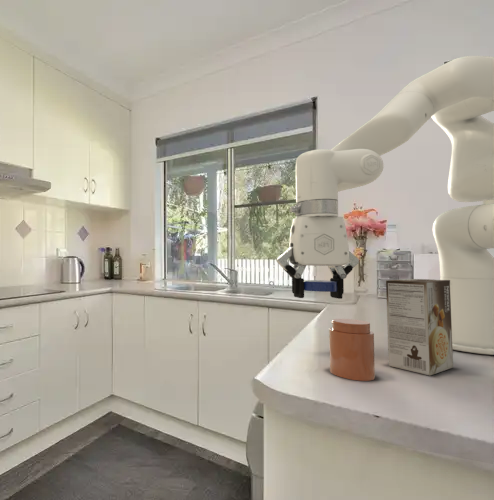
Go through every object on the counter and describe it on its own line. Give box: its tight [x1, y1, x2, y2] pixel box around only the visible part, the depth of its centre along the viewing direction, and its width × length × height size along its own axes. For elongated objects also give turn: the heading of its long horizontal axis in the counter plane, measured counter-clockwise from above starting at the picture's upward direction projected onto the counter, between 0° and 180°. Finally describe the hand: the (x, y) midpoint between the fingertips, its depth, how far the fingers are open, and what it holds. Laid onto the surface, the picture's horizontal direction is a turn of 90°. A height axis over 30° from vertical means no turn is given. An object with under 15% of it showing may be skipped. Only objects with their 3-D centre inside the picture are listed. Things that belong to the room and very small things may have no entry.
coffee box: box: [385, 278, 454, 376], centre depth 62 cm, size 9×6×16 cm
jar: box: [328, 318, 376, 382], centre depth 58 cm, size 6×6×9 cm
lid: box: [304, 279, 337, 293], centre depth 69 cm, size 7×7×2 cm
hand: (317, 296), depth 69 cm, fingers closed on lid, 6 cm apart
